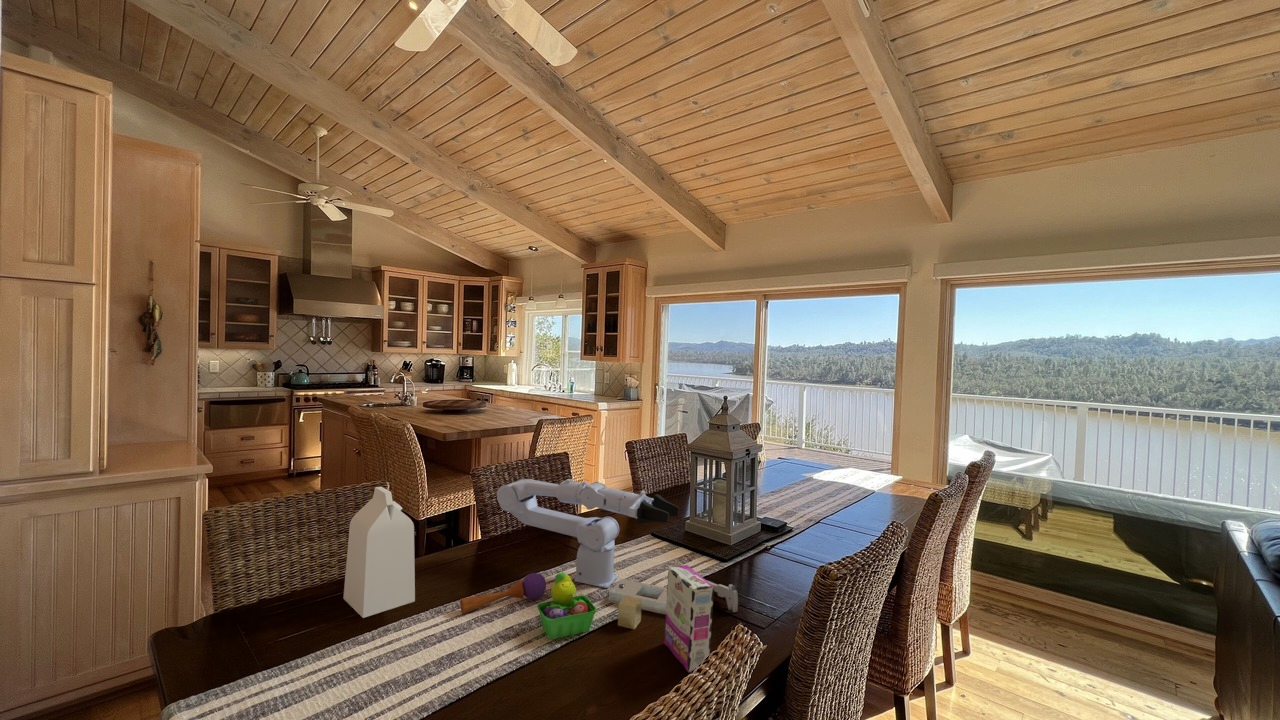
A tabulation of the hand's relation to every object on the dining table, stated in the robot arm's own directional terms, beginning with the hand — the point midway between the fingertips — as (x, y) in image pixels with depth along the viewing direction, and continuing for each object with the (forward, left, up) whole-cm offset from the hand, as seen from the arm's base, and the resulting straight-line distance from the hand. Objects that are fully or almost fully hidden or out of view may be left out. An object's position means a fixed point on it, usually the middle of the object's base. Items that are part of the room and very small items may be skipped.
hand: (673, 514), depth 133 cm
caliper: (+9, +6, -21) cm, 24 cm away
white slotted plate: (-4, -5, -21) cm, 22 cm away
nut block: (-5, -16, -21) cm, 26 cm away
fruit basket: (-17, -24, -21) cm, 36 cm away
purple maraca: (-35, -20, -21) cm, 45 cm away
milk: (-62, -31, -21) cm, 72 cm away
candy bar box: (+10, -23, -21) cm, 33 cm away
